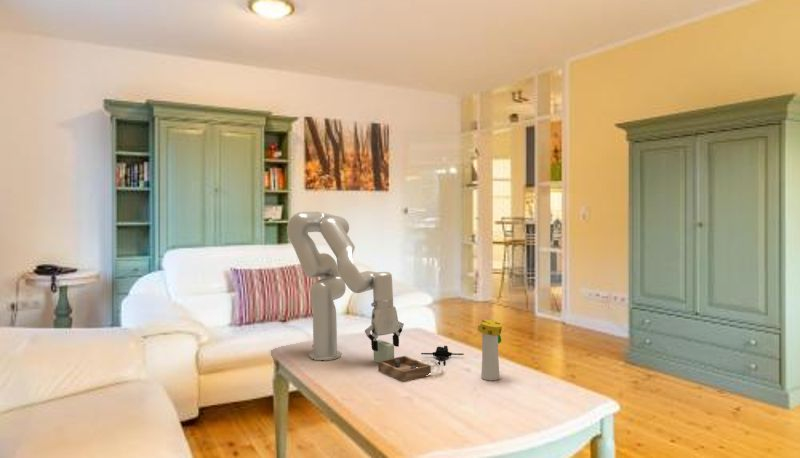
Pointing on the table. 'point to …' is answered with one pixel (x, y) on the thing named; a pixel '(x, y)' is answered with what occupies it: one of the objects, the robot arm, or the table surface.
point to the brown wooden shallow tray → (404, 368)
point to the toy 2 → (490, 348)
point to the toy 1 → (442, 354)
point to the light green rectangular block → (384, 351)
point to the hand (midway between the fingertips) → (385, 348)
